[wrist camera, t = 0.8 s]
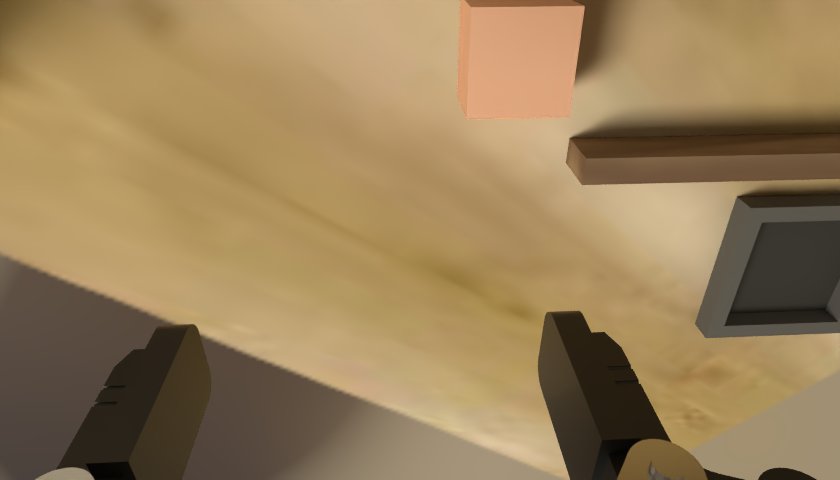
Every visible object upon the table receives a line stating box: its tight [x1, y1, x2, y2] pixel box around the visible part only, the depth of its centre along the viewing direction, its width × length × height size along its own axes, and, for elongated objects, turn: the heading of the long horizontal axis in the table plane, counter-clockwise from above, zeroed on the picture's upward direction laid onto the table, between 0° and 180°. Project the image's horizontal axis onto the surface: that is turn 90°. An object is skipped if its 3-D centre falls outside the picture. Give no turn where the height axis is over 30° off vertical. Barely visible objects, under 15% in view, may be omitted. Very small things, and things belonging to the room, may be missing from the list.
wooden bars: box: [566, 133, 840, 185], centre depth 28 cm, size 13×16×3 cm
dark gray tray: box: [695, 194, 840, 338], centre depth 36 cm, size 10×10×2 cm
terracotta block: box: [457, 0, 585, 120], centre depth 27 cm, size 5×5×4 cm
